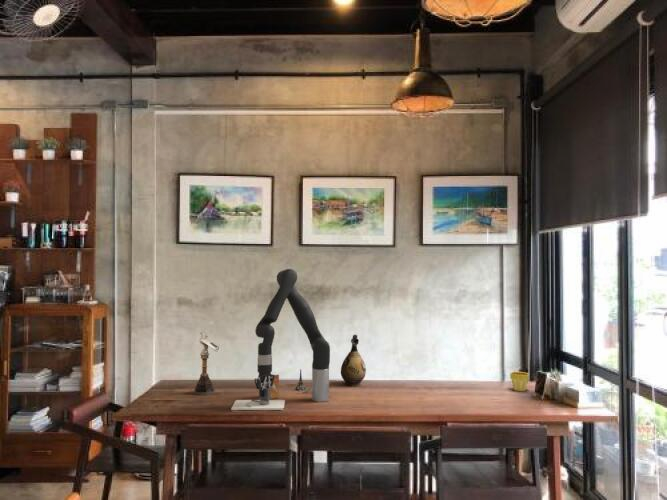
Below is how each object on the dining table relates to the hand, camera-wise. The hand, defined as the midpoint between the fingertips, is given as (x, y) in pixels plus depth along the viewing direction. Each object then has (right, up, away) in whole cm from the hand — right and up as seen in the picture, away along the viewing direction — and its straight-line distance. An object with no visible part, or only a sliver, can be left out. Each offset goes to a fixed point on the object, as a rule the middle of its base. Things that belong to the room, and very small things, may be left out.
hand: (264, 395), depth 290 cm
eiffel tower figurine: (+17, -7, +37) cm, 41 cm away
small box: (+1, -6, +19) cm, 20 cm away
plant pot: (+145, -7, +38) cm, 150 cm away
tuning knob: (-2, -4, +2) cm, 5 cm away
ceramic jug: (+48, -7, +52) cm, 71 cm away
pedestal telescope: (-36, -6, +30) cm, 47 cm away
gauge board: (-3, -6, 0) cm, 6 cm away
